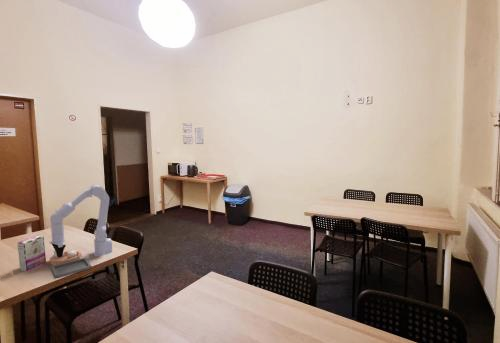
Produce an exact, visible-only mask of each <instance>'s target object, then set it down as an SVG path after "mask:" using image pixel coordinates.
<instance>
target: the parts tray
mask: <svg viewBox="0 0 500 343" xmlns="http://www.w3.org/2000/svg"><path fill="white" fill-rule="evenodd" d="M90 269H92V265H91V264H90V262H89V261H88V259H87V258H86V257H84V258H82V257H81V258H80V259H78V260H75V261H71V262H67V263H63V264H59V265H51V270H52V272H53V275H54V276H55V279H58V278H62V277H66V276H70V275H72V274H76V273H79V272H83V271H87V270H90Z"/></svg>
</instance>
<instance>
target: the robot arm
mask: <svg viewBox="0 0 500 343" xmlns="http://www.w3.org/2000/svg"><path fill="white" fill-rule="evenodd" d="M93 196H94V197H96V198H98V199H99V200H100V204H99V210H98V218H97V225H96V228H95V230H94V231H93V234H94V238H95V239H94V240H93V244H94V252H92V254H93V255H94V256H95V257H96V258H97V257H100V256H101V257H102V256H104V255H108V254H111V253H113V242H112V241H113V240H112V239H111V238H108V234H107V220H108V212H109V206H110V196H109V194H108V193H107V191H106V190H105V188H104V187H103V186H101V185H100V184H98V183H95V184H92V185H91V186H90V187H88V188H86V189H85V190H84V191H83V192H81V193H80V194H79V195H78V196H77V197H76V198H74V199H73V200H72V201H71V202H67V203H63V204H62V206H61V207H60V208H59V209H57V210H55V212H54V213H52V214H51V215H50V219H49V220H50V228H51V229H50V232H51V241H49V244H50V245H52V247H53V249H54V251H56V253H57V257H58V258H59V257H62V256H63V251H64V252H65V248H66V247H67V246H66V244H64V243H65V231H64V224H63V220H64V218H67V217H68V216H69V215H70V214H71V213H73V212H74V211H75V210H76V206H78V205H80V204H81V203H82V202H83V201H85V199H87V198H93Z"/></svg>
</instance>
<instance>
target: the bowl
mask: <svg viewBox="0 0 500 343" xmlns="http://www.w3.org/2000/svg"><path fill="white" fill-rule="evenodd" d="M68 251H69V250H67V251H65V250H64V257H63V258H61V259H54V254H53V255H52V256H51V257H50V258H49V264H50V265H51V266H55V265H59V264H63V263H67V262H71V261H75V260H78V259H82V252H81V251H80V250H76V251H77V256H76V257H73V258H71V259H68V255H67V252H68Z"/></svg>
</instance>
